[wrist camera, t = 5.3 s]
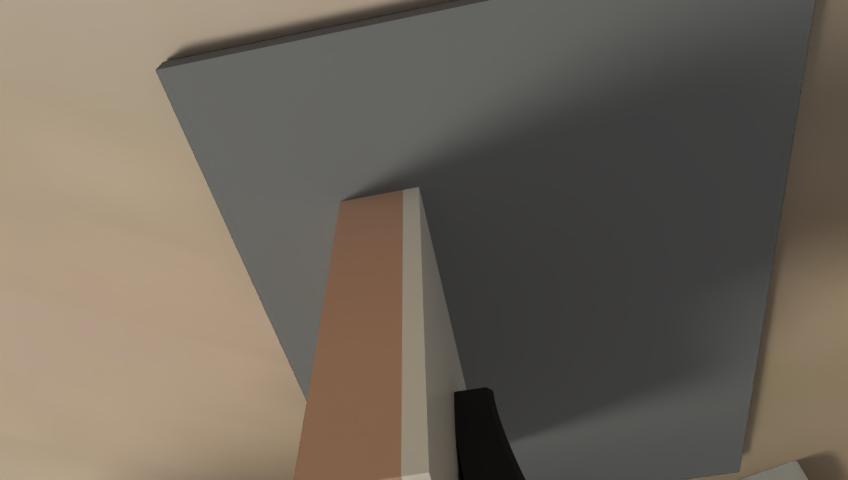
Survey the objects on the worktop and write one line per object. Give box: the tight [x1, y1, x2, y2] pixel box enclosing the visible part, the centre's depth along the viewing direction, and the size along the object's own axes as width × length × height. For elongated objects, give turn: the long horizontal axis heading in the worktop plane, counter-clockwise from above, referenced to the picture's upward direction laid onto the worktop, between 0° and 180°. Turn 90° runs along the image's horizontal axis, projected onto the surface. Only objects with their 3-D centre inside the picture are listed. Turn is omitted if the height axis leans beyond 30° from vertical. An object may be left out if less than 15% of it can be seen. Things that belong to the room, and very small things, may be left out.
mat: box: [156, 0, 815, 480], centre depth 14 cm, size 10×14×1 cm
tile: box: [294, 187, 466, 480], centre depth 11 cm, size 2×8×6 cm, turn 11°
